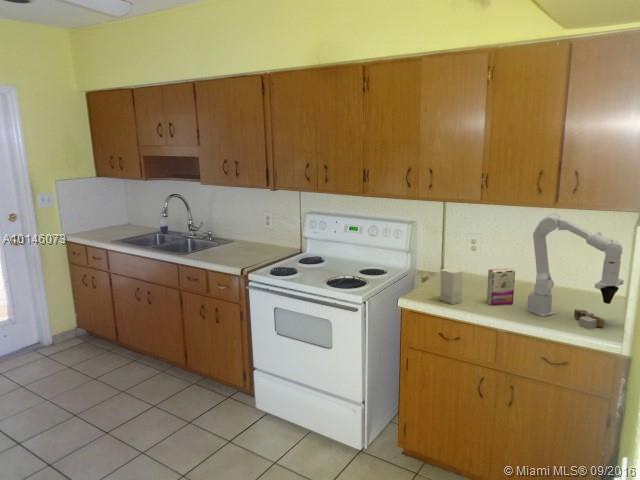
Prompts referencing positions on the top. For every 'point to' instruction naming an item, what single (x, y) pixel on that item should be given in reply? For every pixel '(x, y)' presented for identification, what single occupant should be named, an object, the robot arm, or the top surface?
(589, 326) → the doorstop block
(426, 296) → the top surface
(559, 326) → the top surface
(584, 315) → the gate posts
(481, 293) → the top surface
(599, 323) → the gate
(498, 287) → the candy bar box
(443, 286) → the skincare box
